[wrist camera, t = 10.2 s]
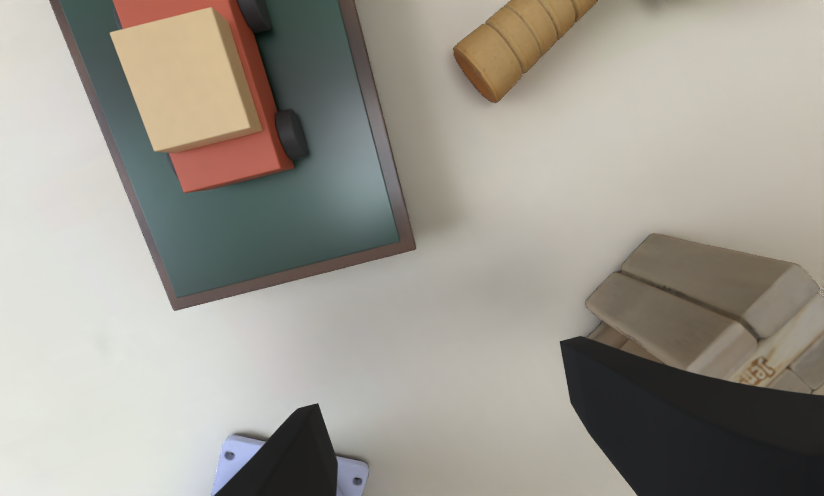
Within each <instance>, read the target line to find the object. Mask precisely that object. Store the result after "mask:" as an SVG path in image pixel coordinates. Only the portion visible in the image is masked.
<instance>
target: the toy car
mask: <svg viewBox="0 0 824 496" xmlns="http://www.w3.org/2000/svg"><path fill="white" fill-rule="evenodd" d="M113 3H114V5H115V6H114V17H115V20H116V23H117V26H118V28H119V30H117V31H113V32H110V35H111V38H112V41H113V43H114V46H115V49H116V51H117V54H118V57H119V59H120V62H121V65H122V67H123V70H124V73H125V75H126V78H127V80H128V83H129V86H130V88H131V91H132V94H133V96H134V99H135V102H136V104H137V107H138V110H139V112H140V115H141V118H142V120H143V123H144V126H145V128H146V131H147V134H148V136H149V139H150V142H151V144H152V147H153V149H154V151H155V152H166V156H167V160H168V163H169V165H170V167H171V169H172V171H173V173H174V174H175V176H176V177H177V178H178V180H179V181H180V184H181V187H182V189H183V192H184V193H190V192H197V191H205V190H212V189H216V188H220V187H224V186H227V185H231V184H235V183H239V182H243V181H247V180H251V179H255V178H259V177H263V176H267V175H271V174H275V173H279V172H283V171H287V170H291V169H294V164H293V161H292V160H296V159H300V158H304V157H307V154H308V149H307V143H306V139H305V135H304V132H303V129H302V126H301V123H300V121H299V119H298V117H297V115H296V113H295V112H294V110H293V109H287V110H283V111H279V112H277V109H276V105H275V102H274V99H273V95H272V92H271V89H270V86H269V82H268V79H267V76H266V72H265V69H264V66H263V63H262V59H261V56H260V53H259V50H258V46H257V43H256V40H255V36H254V33H258V32H262V31H266V30H269V29H270V28H271V22H270V17H269V13H268V9H267V6H266V3H265V0H113ZM253 32H254V33H253Z"/></svg>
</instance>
